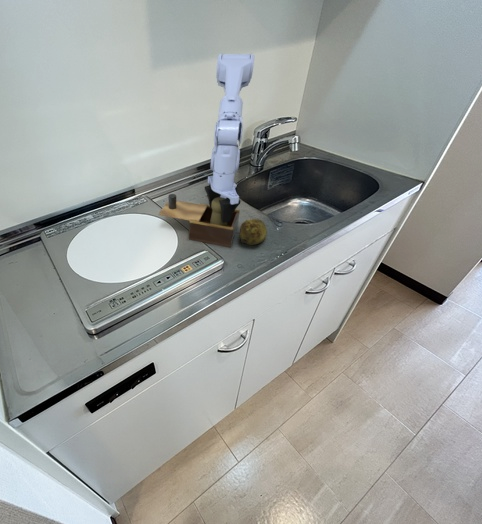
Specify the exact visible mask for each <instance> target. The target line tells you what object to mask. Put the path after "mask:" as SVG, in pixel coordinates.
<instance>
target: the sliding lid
mask: <svg viewBox="0 0 482 524" xmlns="http://www.w3.org/2000/svg"><path fill="white" fill-rule="evenodd" d="M167 197H168V201H167V202H166V204H165V205H164V206H163V207H162V208H161V210H159V212H158V216H161V217H166V218H172V219H178V220H185V221H189V222H190V220H192V221H198V222H199V221H200V219H201V217H202V216H203V214H204V212H205V210H206V208H207V205H208V204H207V205H200V204H201V203H193V202H186V201H181V200H180V201H179V200H177V194H175V193H170V194H168V196H167Z"/></svg>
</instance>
